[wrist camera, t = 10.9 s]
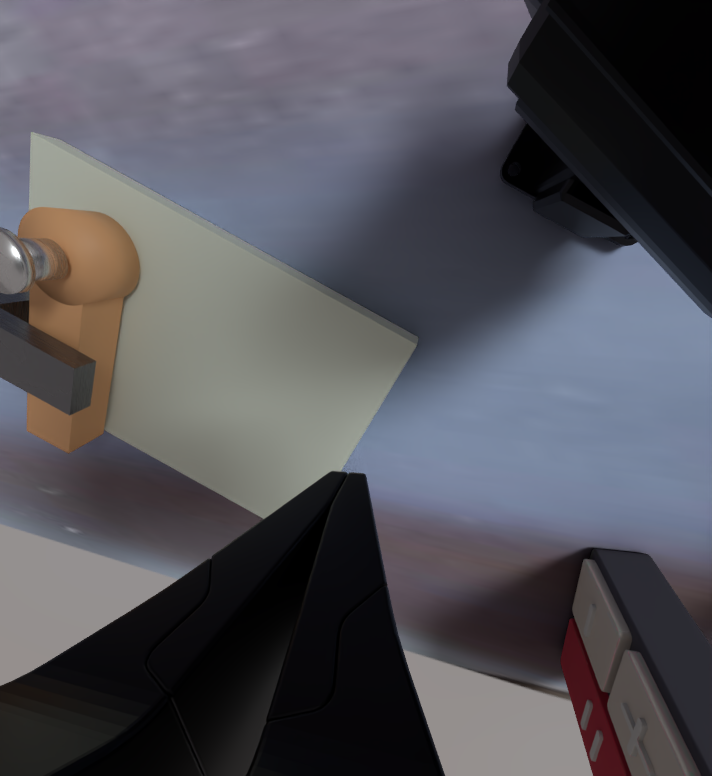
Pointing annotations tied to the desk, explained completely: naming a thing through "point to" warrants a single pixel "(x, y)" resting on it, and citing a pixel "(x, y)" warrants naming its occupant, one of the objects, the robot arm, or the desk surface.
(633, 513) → the desk surface
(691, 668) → the calculator
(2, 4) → the desk surface
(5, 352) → the keeper
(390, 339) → the base board
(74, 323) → the link
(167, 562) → the desk surface
